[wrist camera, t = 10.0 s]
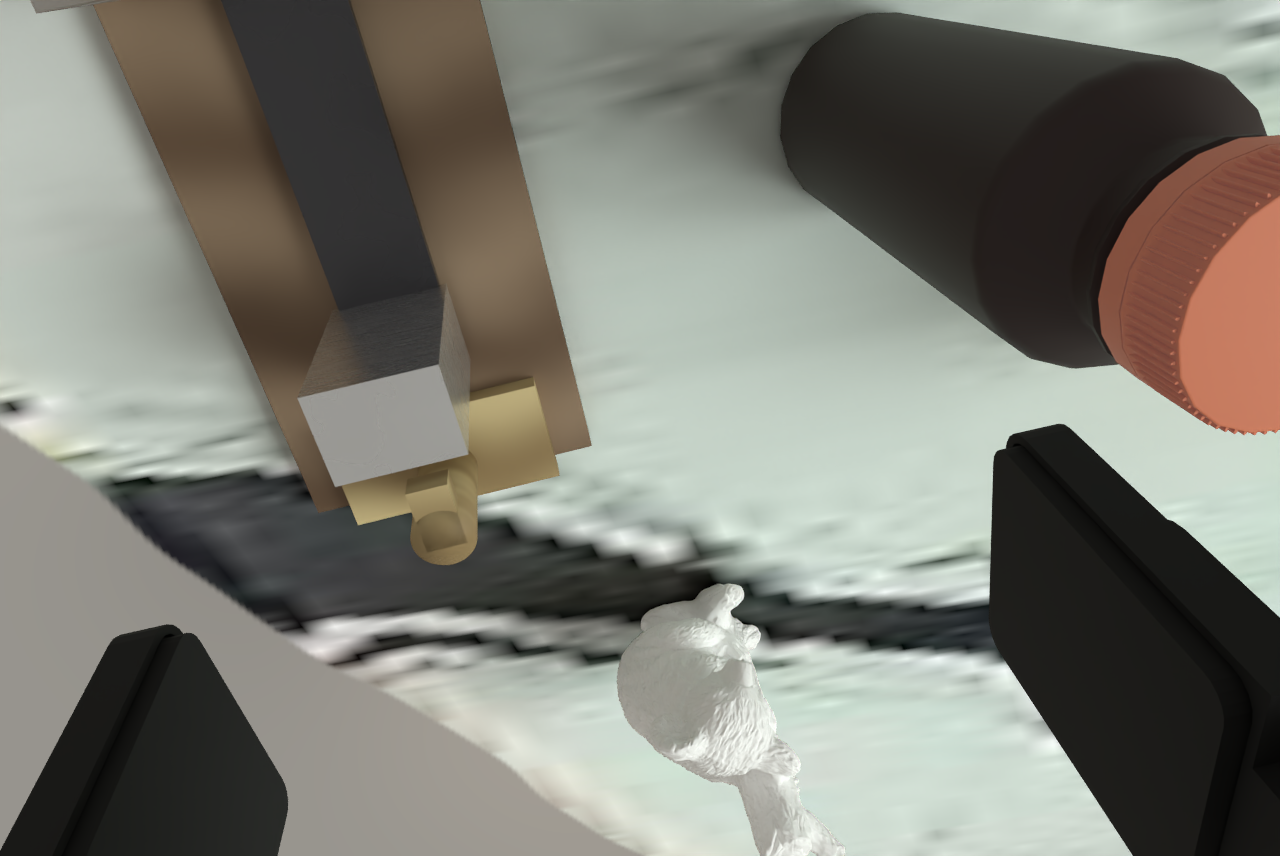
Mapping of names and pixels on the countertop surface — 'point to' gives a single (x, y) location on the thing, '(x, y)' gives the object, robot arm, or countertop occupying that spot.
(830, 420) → the countertop surface
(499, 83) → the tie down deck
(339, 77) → the grey block
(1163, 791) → the robot arm
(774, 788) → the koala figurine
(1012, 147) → the vinegar
